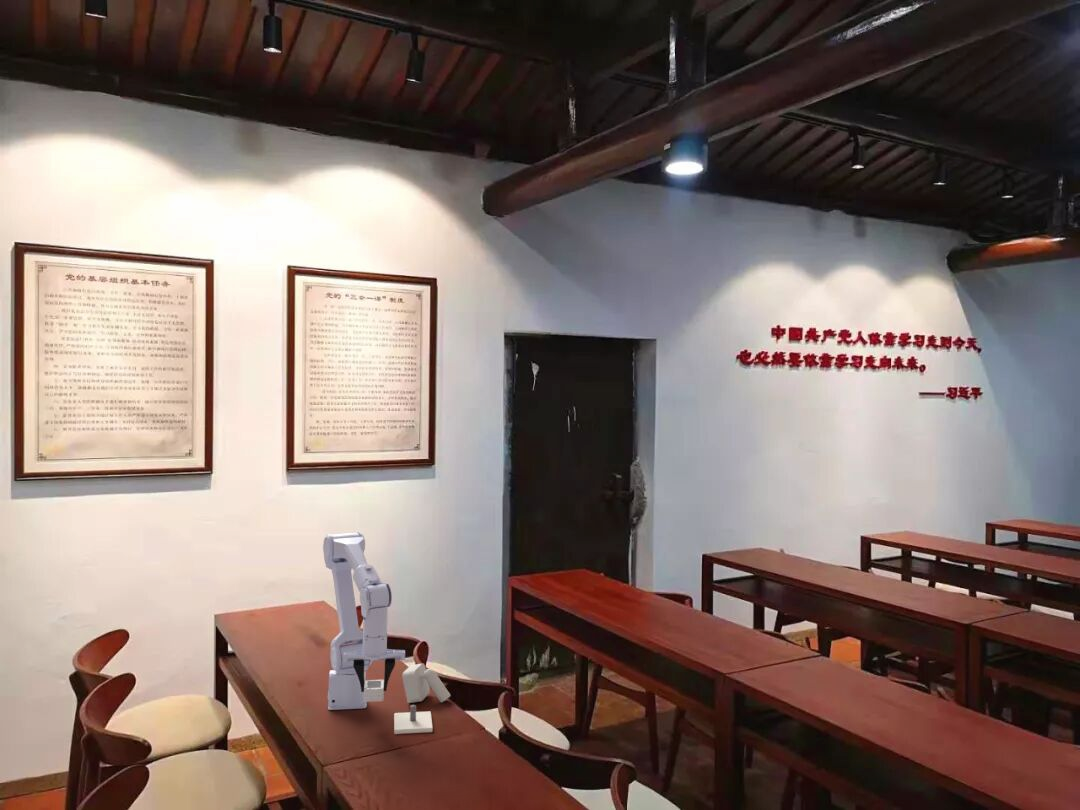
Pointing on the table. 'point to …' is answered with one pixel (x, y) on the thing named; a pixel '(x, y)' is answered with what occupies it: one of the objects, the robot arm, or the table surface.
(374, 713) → the table surface
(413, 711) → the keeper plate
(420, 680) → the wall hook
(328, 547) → the robot arm
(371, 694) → the hollow square tube
